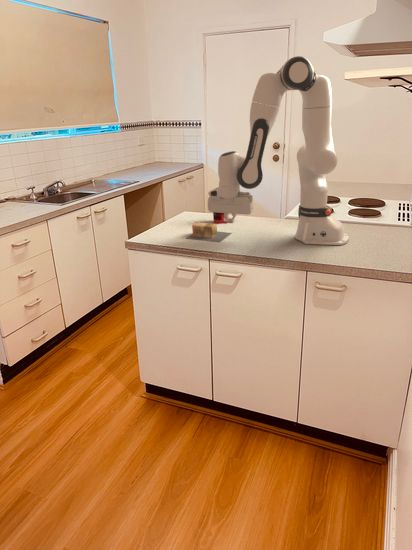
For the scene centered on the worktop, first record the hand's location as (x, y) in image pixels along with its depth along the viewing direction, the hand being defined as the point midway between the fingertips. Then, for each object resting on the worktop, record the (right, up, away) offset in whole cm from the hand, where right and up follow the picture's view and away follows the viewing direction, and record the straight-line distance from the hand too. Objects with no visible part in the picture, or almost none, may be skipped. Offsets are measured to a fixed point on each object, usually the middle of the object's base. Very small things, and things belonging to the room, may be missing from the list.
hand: (230, 222), depth 180 cm
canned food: (-3, +4, +28) cm, 28 cm away
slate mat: (-9, -5, +7) cm, 13 cm away
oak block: (-7, -3, +5) cm, 9 cm away
